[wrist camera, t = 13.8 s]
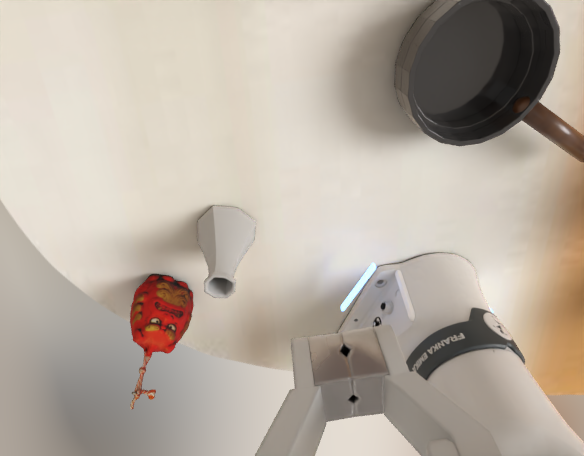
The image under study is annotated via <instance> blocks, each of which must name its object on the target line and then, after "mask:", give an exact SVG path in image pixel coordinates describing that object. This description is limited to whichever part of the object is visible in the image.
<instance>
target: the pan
mask: <svg viewBox="0 0 584 456" xmlns="http://www.w3.org/2000/svg"><path fill="white" fill-rule="evenodd" d="M559 54H560V28H559V25H558V22H557V20H556V17H555V15H554V12H553V10H552V8H551V6H550V5H549V4H548V3H547V2H546V1H545V0H436V1H435V2H434V3H433V4H432V5H431V6H429V7H428V8H427V9H426V10H425V11H424V12H423V13H422V14H421V15H420V16H419V17H418V18H417V19H416V21H415V23H414V24H413V26H412V27H411V29H410V30H409V32H408V33H407V35H406V36H405V38H404V40H403V43H402V46H401V49H400V52H399V54H398V57H397V60H396V67H395V89H396V93H397V96H398V100H399V104H400V106H401V107H402V108H403V110H404V111H405V113H406V114H407V115H408V117H409V118H410V119H411V120H412V121H413V122H414V123H415V124H416V125H417V126H418V127H419V128H420V129H421V130H422V131H423V132H424V133H425V134H427V135H428V136H430V137H432V138H433V139H435V140H437V141H438V142H440V143H445V144H450V145H456V146H465V145H472V144H480V143H483V142H485V141H487V140H490V139H492V138H495V137H497V136H499V135H501V134H503V133H505V132H506V131H507V130H509V129H510V128H512V127H513V126H514V125H516V124H517V123H519V122H520V121H521V120H522V119H523V118H524V117H525V116H526V115H527V114H528V113H529V112H530V110H531V109H532V108H533V107H534V106H535V105H536V104H537V103H538V102H539V100H540V99H541V97H542V96H543V94H544V92H545V90H546V89H547V87H548V85H549V83H550V82H551V80H552V78H553V75H554V71H555V68H556V64H557V61H558V57H559ZM524 96H528V97H530V103H529V105H528V106H527V108H526V109H524V110H523V111H522V112H519V113H514V112H513V110H512V109H513V104H514V103H515V101H516V100H517V99H519V98H521V97H524Z"/></svg>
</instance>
